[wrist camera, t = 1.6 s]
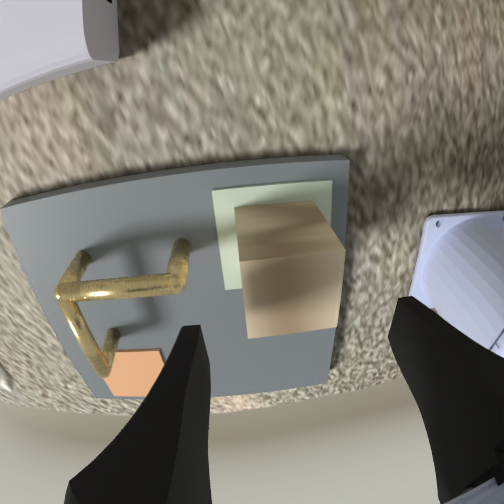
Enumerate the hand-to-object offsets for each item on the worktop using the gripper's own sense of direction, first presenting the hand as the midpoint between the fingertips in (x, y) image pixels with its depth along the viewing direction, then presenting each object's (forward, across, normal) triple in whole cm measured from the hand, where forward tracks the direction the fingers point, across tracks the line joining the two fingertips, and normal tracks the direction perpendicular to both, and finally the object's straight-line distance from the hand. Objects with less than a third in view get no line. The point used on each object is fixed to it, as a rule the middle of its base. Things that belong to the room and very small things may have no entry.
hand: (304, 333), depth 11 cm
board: (+8, +6, +5) cm, 11 cm away
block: (+7, 0, 0) cm, 7 cm away
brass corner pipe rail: (+7, +8, +3) cm, 11 cm away
